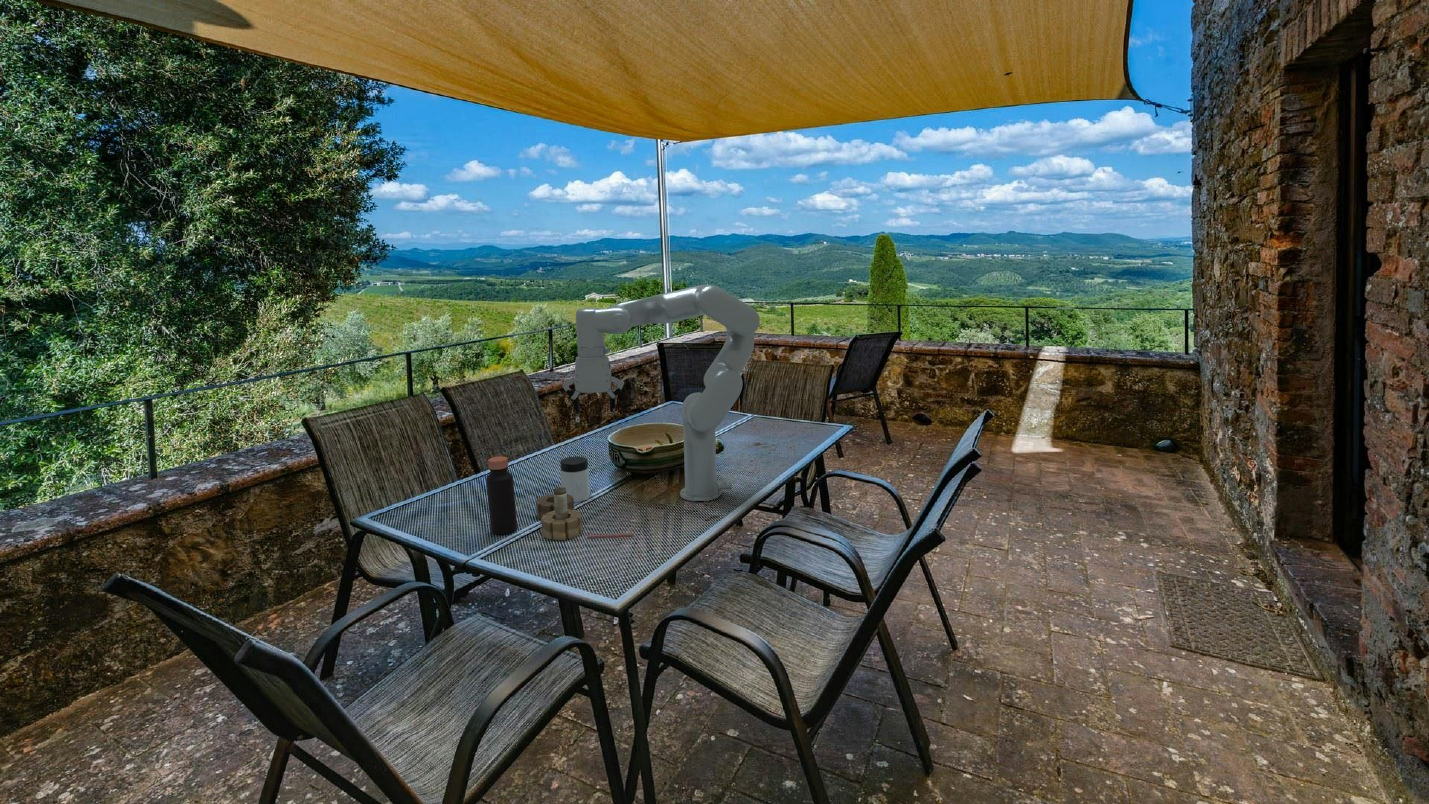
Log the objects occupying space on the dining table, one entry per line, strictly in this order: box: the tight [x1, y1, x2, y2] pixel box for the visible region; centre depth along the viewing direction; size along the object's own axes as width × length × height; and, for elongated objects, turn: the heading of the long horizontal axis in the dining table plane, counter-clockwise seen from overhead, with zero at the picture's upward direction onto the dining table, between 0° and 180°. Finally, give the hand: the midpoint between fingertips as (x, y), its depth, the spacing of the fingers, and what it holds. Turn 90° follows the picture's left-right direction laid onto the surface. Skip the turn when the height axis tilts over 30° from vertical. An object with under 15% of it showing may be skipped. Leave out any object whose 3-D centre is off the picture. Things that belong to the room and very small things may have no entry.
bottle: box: [485, 456, 518, 536], centre depth 173 cm, size 7×7×20 cm
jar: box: [559, 456, 591, 504], centre depth 198 cm, size 9×8×12 cm
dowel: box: [553, 486, 568, 520], centre depth 172 cm, size 3×3×12 cm
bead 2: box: [540, 508, 583, 541], centre depth 173 cm, size 10×10×4 cm
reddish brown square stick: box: [586, 533, 635, 539], centre depth 170 cm, size 12×1×1 cm, turn 94°
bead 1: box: [535, 493, 575, 520], centre depth 186 cm, size 10×10×4 cm
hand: (594, 411), depth 187 cm, fingers open, 9 cm apart
